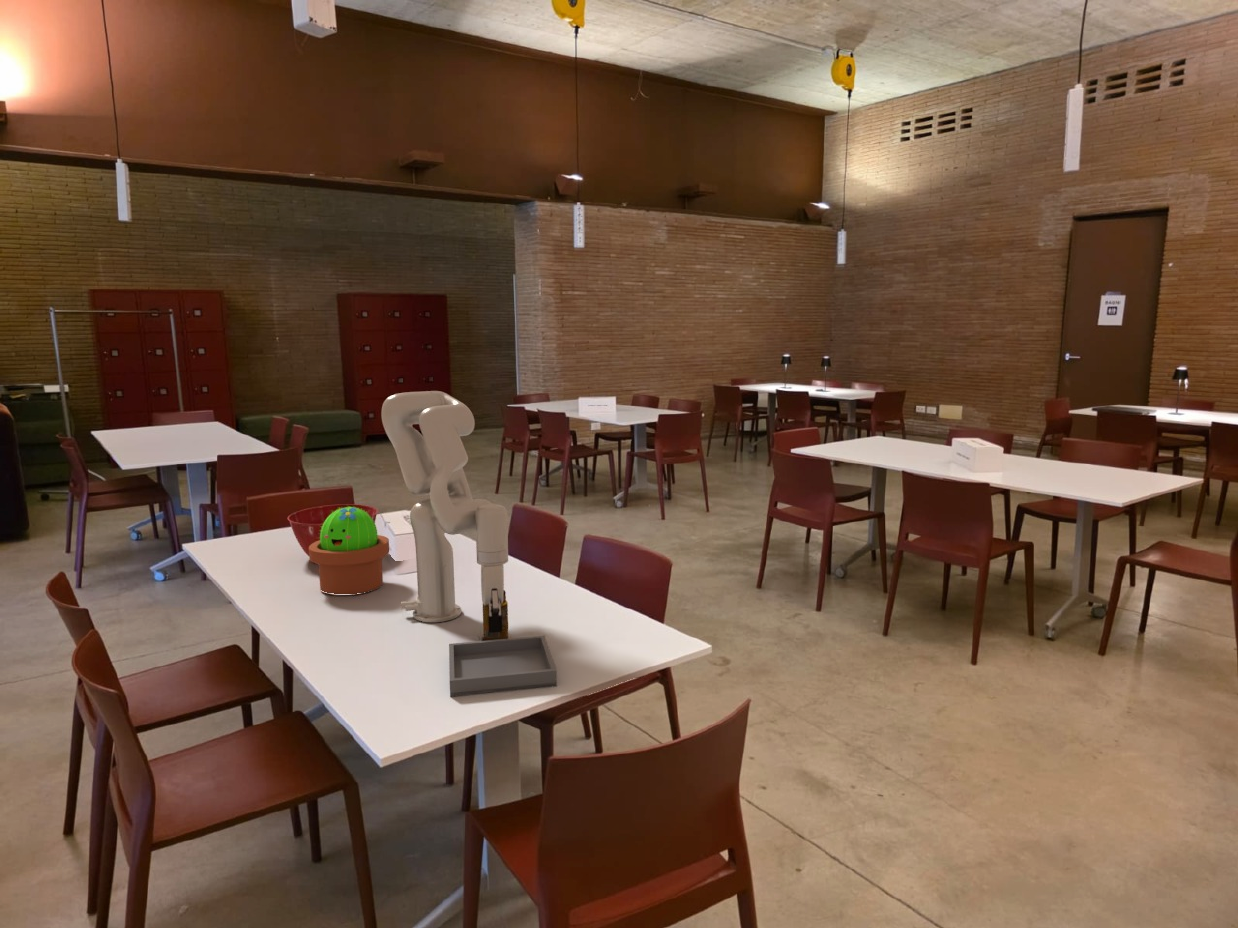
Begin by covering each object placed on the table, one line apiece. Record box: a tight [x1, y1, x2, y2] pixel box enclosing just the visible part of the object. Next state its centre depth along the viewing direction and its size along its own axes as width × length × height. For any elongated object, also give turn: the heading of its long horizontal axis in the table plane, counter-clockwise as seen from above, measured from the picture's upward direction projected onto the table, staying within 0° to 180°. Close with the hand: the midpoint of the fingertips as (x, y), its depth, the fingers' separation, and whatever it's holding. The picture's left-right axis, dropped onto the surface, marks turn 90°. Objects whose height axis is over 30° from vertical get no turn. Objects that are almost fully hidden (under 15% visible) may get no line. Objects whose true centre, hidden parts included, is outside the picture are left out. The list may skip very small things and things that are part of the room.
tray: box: [448, 635, 558, 698], centre depth 169 cm, size 22×20×4 cm
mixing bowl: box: [287, 503, 379, 557], centre depth 259 cm, size 28×28×16 cm
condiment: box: [478, 589, 512, 641], centre depth 187 cm, size 7×8×12 cm
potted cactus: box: [308, 506, 390, 594], centre depth 227 cm, size 22×22×25 cm
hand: (494, 625), depth 188 cm, fingers closed on condiment, 6 cm apart
